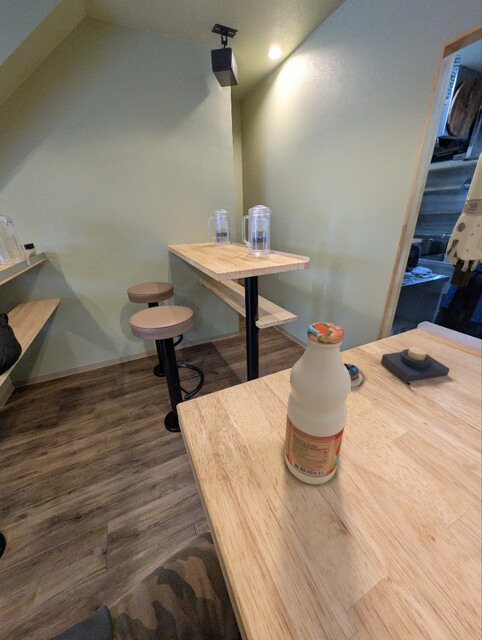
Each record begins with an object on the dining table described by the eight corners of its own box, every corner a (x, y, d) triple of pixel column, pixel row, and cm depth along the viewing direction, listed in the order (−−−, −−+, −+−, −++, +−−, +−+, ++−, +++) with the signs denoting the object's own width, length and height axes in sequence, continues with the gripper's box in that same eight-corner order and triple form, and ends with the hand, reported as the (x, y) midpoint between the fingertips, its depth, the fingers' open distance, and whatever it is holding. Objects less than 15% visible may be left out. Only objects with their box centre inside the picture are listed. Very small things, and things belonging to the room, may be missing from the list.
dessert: (347, 364, 73) (358, 356, 68) (360, 385, 70) (372, 379, 65) (324, 372, 71) (333, 365, 66) (336, 395, 68) (347, 389, 63)
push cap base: (416, 358, 76) (420, 343, 74) (446, 378, 67) (452, 363, 65) (380, 363, 74) (383, 349, 72) (406, 385, 65) (411, 369, 63)
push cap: (416, 352, 71) (418, 345, 70) (428, 360, 67) (430, 353, 66) (403, 354, 70) (405, 347, 69) (415, 362, 67) (417, 355, 66)
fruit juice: (277, 445, 51) (282, 319, 39) (320, 435, 52) (337, 312, 40) (296, 492, 42) (310, 351, 30) (346, 479, 44) (378, 340, 32)
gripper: (473, 210, 53) (446, 292, 61) (530, 207, 55) (497, 286, 63) (441, 209, 60) (421, 283, 68) (493, 206, 62) (467, 278, 70)
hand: (458, 284), depth 65 cm, fingers closed
